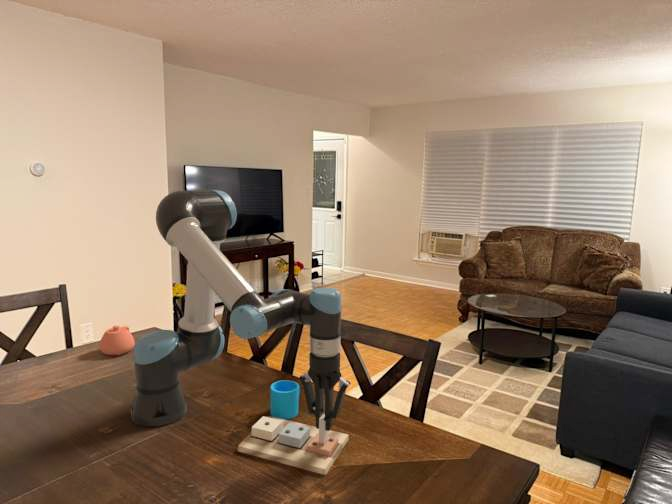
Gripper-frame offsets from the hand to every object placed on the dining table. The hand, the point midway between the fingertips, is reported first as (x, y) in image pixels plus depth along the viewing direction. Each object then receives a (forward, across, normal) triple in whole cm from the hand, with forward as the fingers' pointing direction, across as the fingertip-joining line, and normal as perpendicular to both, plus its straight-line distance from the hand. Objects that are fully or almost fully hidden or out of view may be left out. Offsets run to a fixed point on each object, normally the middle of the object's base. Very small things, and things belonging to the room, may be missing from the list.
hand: (323, 440), depth 119 cm
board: (+3, -8, 0) cm, 9 cm away
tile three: (+3, 0, 0) cm, 3 cm away
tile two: (+2, -8, 0) cm, 8 cm away
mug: (+4, -18, +16) cm, 24 cm away
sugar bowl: (+3, -98, +30) cm, 103 cm away
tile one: (+2, -16, 0) cm, 16 cm away
